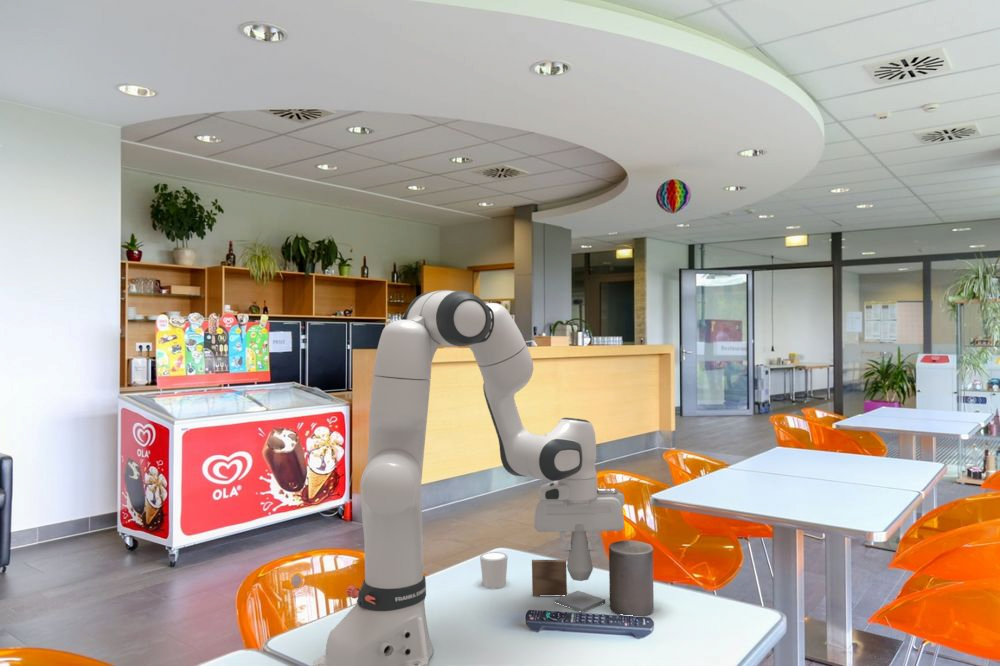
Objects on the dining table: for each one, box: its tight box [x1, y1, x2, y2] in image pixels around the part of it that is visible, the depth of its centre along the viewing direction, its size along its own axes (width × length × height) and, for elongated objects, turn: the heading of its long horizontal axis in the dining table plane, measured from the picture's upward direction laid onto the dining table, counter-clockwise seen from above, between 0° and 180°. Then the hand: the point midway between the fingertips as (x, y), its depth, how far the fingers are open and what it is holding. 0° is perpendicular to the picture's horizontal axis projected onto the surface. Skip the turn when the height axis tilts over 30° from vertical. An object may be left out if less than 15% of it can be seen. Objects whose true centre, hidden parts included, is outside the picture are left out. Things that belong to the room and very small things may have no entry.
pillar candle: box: [608, 539, 655, 617], centre depth 150 cm, size 10×10×15 cm
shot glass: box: [479, 551, 508, 590], centre depth 167 cm, size 7×7×7 cm
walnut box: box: [531, 559, 568, 597], centre depth 159 cm, size 8×2×8 cm, turn 87°
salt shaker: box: [566, 524, 594, 582], centre depth 154 cm, size 6×6×13 cm
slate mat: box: [554, 590, 606, 613], centre depth 154 cm, size 8×8×1 cm
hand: (579, 550), depth 154 cm, fingers closed on salt shaker, 4 cm apart
